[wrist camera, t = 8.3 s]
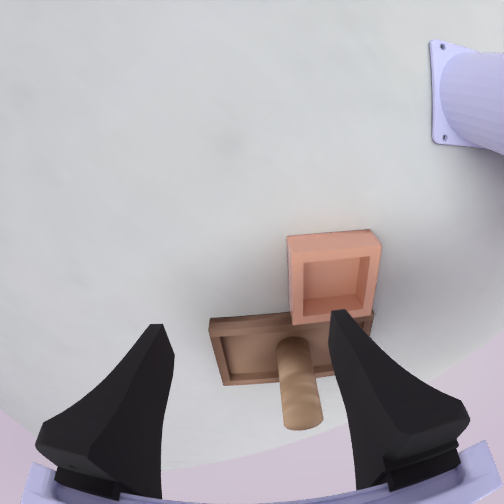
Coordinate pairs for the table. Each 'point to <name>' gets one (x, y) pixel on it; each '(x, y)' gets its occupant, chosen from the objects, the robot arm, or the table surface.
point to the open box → (332, 274)
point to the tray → (267, 345)
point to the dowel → (298, 385)
